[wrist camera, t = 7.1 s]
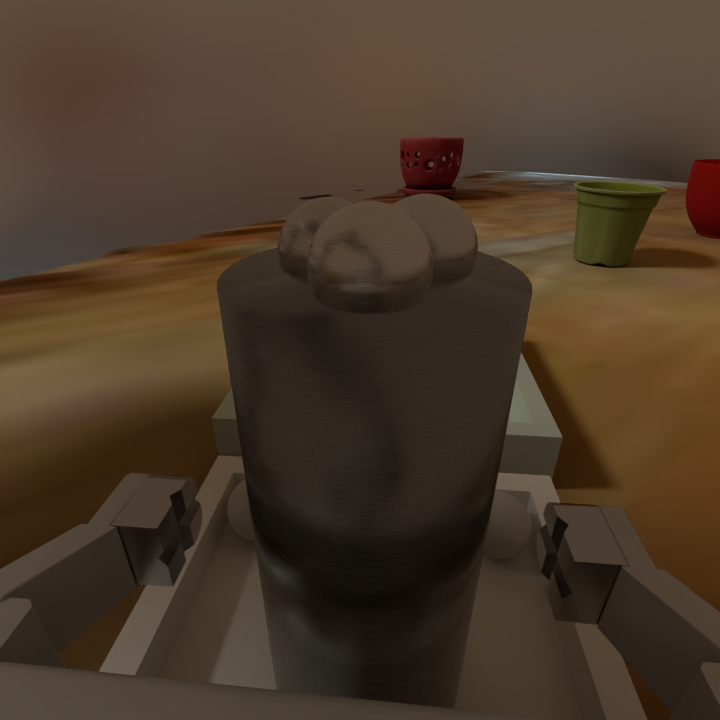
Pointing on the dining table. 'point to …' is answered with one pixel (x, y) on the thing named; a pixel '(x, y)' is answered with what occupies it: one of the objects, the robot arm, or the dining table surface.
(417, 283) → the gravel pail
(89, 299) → the dining table surface
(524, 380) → the bin
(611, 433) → the dining table surface
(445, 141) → the plant pot
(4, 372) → the dining table surface
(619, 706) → the tray
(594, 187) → the plant pot
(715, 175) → the ceramic cup
